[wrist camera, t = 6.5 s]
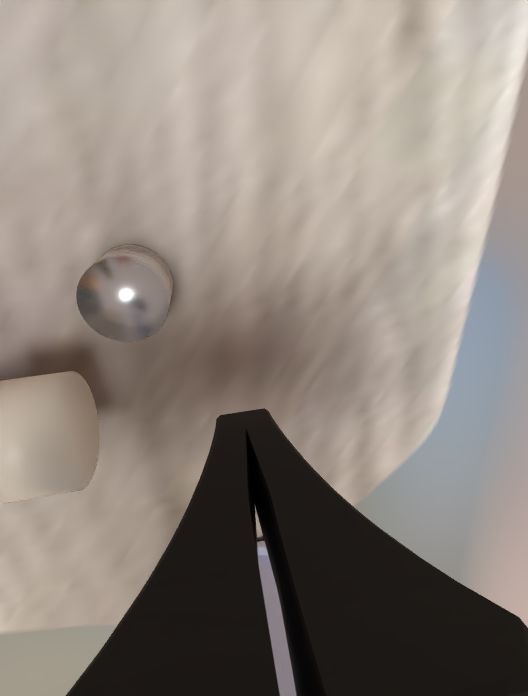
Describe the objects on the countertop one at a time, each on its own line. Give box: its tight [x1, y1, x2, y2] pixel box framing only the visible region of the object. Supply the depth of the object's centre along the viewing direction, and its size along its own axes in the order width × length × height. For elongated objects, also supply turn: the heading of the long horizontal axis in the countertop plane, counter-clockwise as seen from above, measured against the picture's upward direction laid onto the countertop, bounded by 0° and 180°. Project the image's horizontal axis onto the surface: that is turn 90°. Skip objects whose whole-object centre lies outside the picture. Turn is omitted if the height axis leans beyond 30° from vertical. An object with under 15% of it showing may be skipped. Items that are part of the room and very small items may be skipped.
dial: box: [77, 244, 173, 342], centre depth 12 cm, size 3×3×2 cm
